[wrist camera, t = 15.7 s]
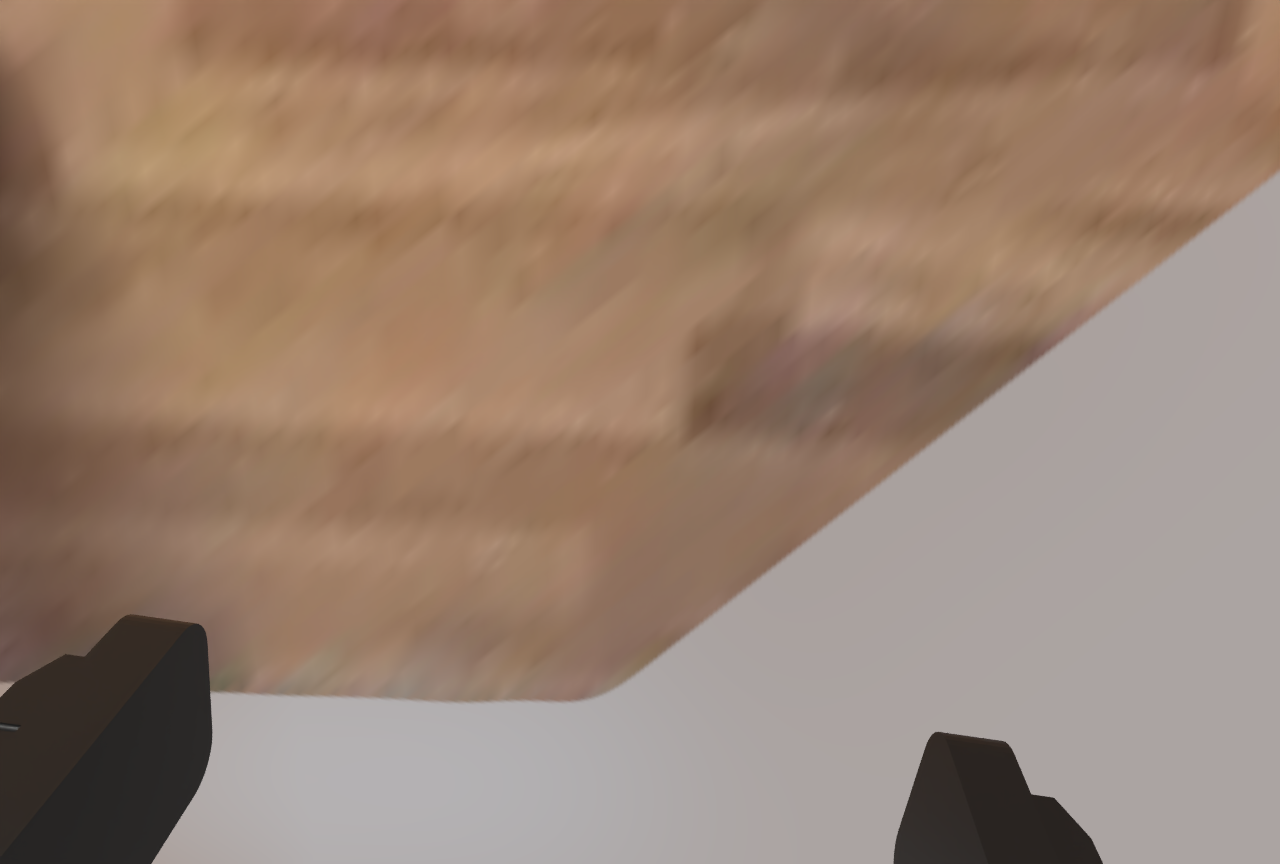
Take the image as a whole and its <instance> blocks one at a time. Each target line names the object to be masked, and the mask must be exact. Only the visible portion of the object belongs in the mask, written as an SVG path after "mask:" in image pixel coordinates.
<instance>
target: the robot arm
mask: <svg viewBox="0 0 1280 864" xmlns="http://www.w3.org/2000/svg"><path fill="white" fill-rule="evenodd" d="M211 745H212V717H211V699H210V681H209V663H208V645H207V636H206V632H205V630H204V628H203V627H202V626H201V625H199V624H195V623H188V622H181V621H174V620H167V619H160V618H153V617H146V616H139V615H127V616H125V617H123V618H122V619H120V620H119V621H118V622H117V623H116V624H115V625H114V626H113V627H112V628H111V629H110V630H109V632H108V633H107V634H106V635H105V636H104V637H103V638H102V639H101V640H100V641H99V642H98V643H97V644H96V646H95V647H94V648H93V649H92V650H91V651H90V652H89V653H88V654H87V655H86V656H85V657H81V656H74V655H67V654H65V655H63V656H62V657H60V658H58V659H56V660H55V661H53V662H51V663H49V664H47V665H46V666H44V667H42V668H40V669H38V670H37V671H35V672H33V673H31V674H30V675H28V676H26V677H24V678H22V679H21V680H19V681H17V682H15V683H14V684H13V685H12V686H11V687H10V688H9V689H8V690H7V691H6V692H5V693H4V694H3V695H2V696H1V697H0V864H151V863H152V862H153V860H154V859H155V857H156V855H157V854H158V852H159V851H160V849H161V848H162V846H163V844H164V843H165V841H166V840H167V838H168V836H169V835H170V833H171V832H172V830H173V828H174V827H175V825H176V824H177V822H178V820H179V819H180V817H181V816H182V814H183V813H184V811H185V810H186V808H187V806H188V805H189V803H190V802H191V800H192V798H193V797H194V795H195V793H196V792H197V790H198V788H199V786H200V783H201V781H202V779H203V776H204V774H205V771H206V767H207V764H208V760H209V756H210V752H211ZM894 864H1103V863H1102V861H1101V858H1100V856H1099V854H1098V852H1097V850H1096V848H1095V846H1094V844H1093V841H1092V839H1091V838H1090V837H1089V836H1088V835H1087V833H1086V832H1085V831H1084V830H1083V829H1082V828H1081V827H1080V826H1079V825H1078V824H1077V823H1076V821H1075V820H1074V819H1073V818H1072V817H1071V816H1070V815H1069V814H1068V813H1067V811H1066V810H1065V809H1064V808H1063V807H1062V806H1061V805H1060V804H1059V803H1058V802H1057V801H1056V800H1055V798H1051V797H1045V796H1038V795H1031V793H1030V791H1029V788H1028V786H1027V784H1026V781H1025V779H1024V776H1023V774H1022V771H1021V769H1020V767H1019V764H1018V762H1017V760H1016V757H1015V755H1014V753H1013V751H1012V749H1011V747H1010V746H1009V745H1008V744H1007V743H1006V742H1004V741H998V740H991V739H984V738H977V737H970V736H963V735H956V734H949V733H942V732H935V733H934V734H932V736H931V737H930V739H929V740H928V742H927V745H926V748H925V750H924V754H923V757H922V760H921V763H920V766H919V769H918V772H917V775H916V778H915V781H914V785H913V787H912V791H911V794H910V797H909V800H908V803H907V806H906V809H905V812H904V815H903V818H902V821H901V825H900V828H899V831H898V835H897V839H896V844H895V851H894Z"/></svg>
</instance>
